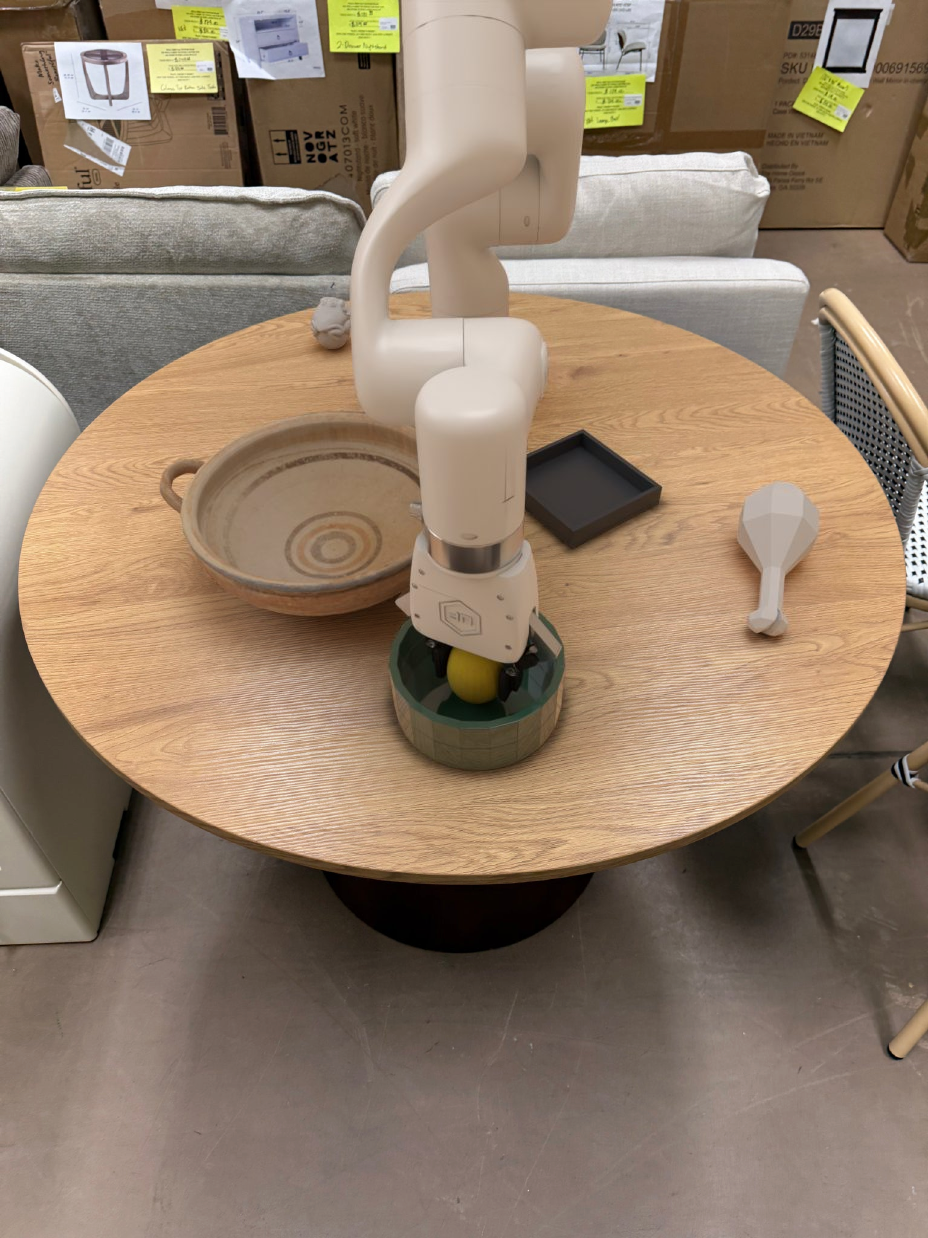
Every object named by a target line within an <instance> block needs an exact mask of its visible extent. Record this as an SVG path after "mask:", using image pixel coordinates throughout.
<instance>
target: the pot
mask: <svg viewBox="0 0 928 1238" xmlns="http://www.w3.org/2000/svg"><path fill="white" fill-rule="evenodd" d="M538 618H539V619H540V621H541V622H542V623H543V624H544V625H545V626H546V628H547V629H548V630H549V631H550V632H551V634H552V635H553V636H554V637H555V638H556V639H557V641H558V642H559V643H560V644H561V646H562V648H561V650H560V652H559V654H558V656H557V658H556V659H555V660H552V661H548V662H544V663H541V662H540V663H537V665H536V666H534V667H531V668H528V669H525V670H523V680H522V683H521V686H520V688H519V690H518V691H517V692H515V691H512V692H511V694H510V695H509V697H508V699H507V701H506V702H503V701H500V699H499V698H498V696H497V697H495V698H494V699H493V700H491V701H489V702H486V703H481V704H473V703H469V702H466V701H464V700H462V699H461V698H459V697H458V696H457V695H456V694H455V693H454V691H453V690H452V688H451V686H450V684H449V681H448V677H447V674H446V676H445V677H444V678H442V679H441V678H438V677H436V673H435V662H433V661H432V650H431V647H429V646H428V645H427V644H426V643H425V638H426V636H425V635H423V634H422V633H420V632H419V631H417V630H416V629H415V627H414V625H413V623H412V621H411V617H410V616H409V618H408V619H406V620H405V622H404V623H402V624H401V626H400V627H399V630H398V631H397V633H396V635H395V637H394V638H393V640H392V641H391V642H392V643H391V644H390V649H389V658H388V672H389V673H388V675H389V679H390V687H391V693H392V700H393V707H394V710H395V713H396V717H397V721H398V724H399V727H400V729H401V730H402V732H403V734H404V735H405V737H406V739H407V740H408V741H409V742H410V744H412V745H413V747H415V748H416V749H417V750H418V751H419V752H420V753H421V754H423V755H424V756H426V757H428V758H429V759H430V760H433V761H435V762H437V763H439V764H441V765H444V766H448V767H450V768H455V769H460V770H464V771H465V770H467V771H489V770H496V769H500V768H504V767H507V766H511V765H514V764H516V763H519V762H520V761H522V760H525V759H526V758H528V757H529V756H531V755H532V754H533V753H535V752H536V751H537V750H539V749H540V748H541V747H542V746H543V745H544V744H545V743H546V741H547V740H548V739H549V738H550V736H551V735H552V733H553V731H554V729H555V728H556V725H557V722H558V721H559V716H560V712H561V709H562V703H563V695H564V685H565V675H566V656H565V655H566V654H565V645H564V643H563V642H562V639H561V637H560V635H559V633H558V631H557V629H556V627H555V626H554V624H553V623H551V622H550V621H549V619H547V618H546V617H545V615H543V614H542V613H541V612H540V611H539V613H538ZM530 644H533V643H532V642H531V641H530V639H529V638H528V640H527V645H530Z"/></svg>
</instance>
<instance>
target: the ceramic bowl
mask: <svg viewBox="0 0 928 1238" xmlns="http://www.w3.org/2000/svg"><path fill="white" fill-rule="evenodd" d="M188 474H192V475H193V477H192V478H191V480H190V482H189V483H188V484H187V487H186V490H185V493H184V495H183V496H182V497H181V496H180V495H179V494H178V493H176V492H175V491H174V489H173V488H172V487H173V483H174V481H175V479H177V478H179V477H181V476H184V475H188ZM159 494H160V496H161V497H162V499H163V500H164V502H165V503H166V504H167V505H168V506H169V507H171V508H172V509H173V510H174V511H176V513H178V514H179V515H180V522H181V528H182V532H183V535H184V537H185V539H186V541H187V542H188V545H189V547H190V549H191V550H192V552H194V556H195V557H196V559H197V561H198V563H199V564H200V566H201V567H202V568H203V569H204V570H205V571H206V572H207V574H208V575H209V576H210V577H211V579H213V581H214V582H216V583H217V584H218V585H219V586H220V587H222V588H223V589H224V590H226V592H228V593H230V594H231V595H233V596H234V597H236V598H238V599H239V600H242V601H244V602H246V603H248V604H251V605H253V606H255V607H257V608H260V609H265V610H268V611H270V612H274V613H279V614H283V615H291V616H299V617H328V616H336V615H344V614H349V613H353V612H357V611H361V610H364V609H368V608H371V607H373V606H376V605H379V604H381V603H383V602H386V601H388V600H390V599H392V598H394V597H395V596H397V595H400V594H401V592H402V591H404V590H405V589H407V588H409V587H410V576H411V566H412V558H413V552H414V547H415V542H416V538H417V536H418V535H419V534H420V533H421V531H423V530H422V523H421V521H420V520H418V519H417V518H416V517H413V516H410V514H409V509H410V505H411V503H412V501H413V500H419V501H422V500H421V488H420V476H419V464H418V452H417V440H416V427H415V425H410V426H396V425H385V424H381V423H378V422H376V421H374V420H372V419H371V418H370V417H369V416H367V415H366V413H365V412H364V411H352V410H336V411H335V410H333V411H332V410H331V411H330V410H329V411H319V412H310V413H304V414H299V415H295V416H289V417H285V418H282V419H278V420H275V421H272V422H269V423H266V424H263V425H260V426H259V427H256V428H254V429H252V430H250V431H247V432H245V433H243V434H242V435H240V436H238V437H236V438H234V439H233V440H231V441H229V442H228V443H226V444H225V445H223V446H221V448H220V449H218V450H217V451H216V452H215V453H213V454H212V455H211V456H210V457H209V458H208V459H207V460H206V461H202V460H198V459H193V458H183V459H180V460H177V461H175V462H174V463H172V464H170V465H168V466H167V467H166V468H164V471H163V472H162V474H161V477H160V480H159Z"/></svg>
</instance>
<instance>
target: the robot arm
mask: <svg viewBox="0 0 928 1238" xmlns="http://www.w3.org/2000/svg"><path fill="white" fill-rule="evenodd" d="M614 1H615V0H401V33H402V34H401V35H402V37H401V39H402V57H403V58H402V59H403V85H404V123H405V125H404V126H405V145H406V146H405V147H406V148H405V159H404V163H403V165H402V168H401V170H400V171H399V173H398V175H397V176H396V177H395V178H394V180H393V181H392V182H391V184H390V185H389V187H387V189H386V190H385V192H384V193H383V194H382V196H381V197H380V198H379V200H378V201H377V203H376V205H375V207H373V209H372V212H371V213H370V214H369V217H368V219H367V221H366V223H365V225H364V227H363V229H362V231H361V233H360V237H359V239H358V242H357V245H356V248H355V252H354V256H353V260H352V265H351V271H350V279H349V308H350V319H351V328H350V343H351V361H352V363H351V364H352V375H353V381H354V382H353V383H354V390H355V394H356V398H357V400H358V403H359V405H360V407H361V409H362V412H365V413H366V415H367V416H369V417H370V418H371V419H372V420H374V421H376V422H378V423H381V424H385V425H396V426H410V425H413V426H415V427H416V440H417V452H418V464H419V476H420V488H421V500H422V501H419V500H413V501H412V503H411V505H410V509H409V514H410V516H413V517H416V518H417V519H418V520H420V521H421V523H422V530H423V531H421V533H420V534H419V535H418V536H417V538H416V542H415V547H414V552H413V558H412V566H411V576H410V587H409V588H407V589H405V590H404V591H402V592H401V593H399V594H398V596H397V598H396V599H395V601H394V603H395V605H396V606H397V607H398V608H399V609H400V610H401V611H402V612H403V613H404V614H405V615H406V616H407V617H409V618H410V617H411V621H412V623H413V625H414V627H415V629H416V630H417V631H419V632H420V633H422V634H423V635H425V636H426V638H425V643H426V644H427V645H428V646H429V647H431V650H432V661H433V662H435V673H436V677H438V678H441V679H442V678H444V677H445V676H446V674H447V662H448V658H449V655H450V652H451V650H452V648H453V647H456V648H459V649H462V650H465V651H468V652H471V653H473V654H476V655H479V656H482V657H485V658H488V659H491V660H494V661H498V662H501V663H502V666H503V667H502V668H501V670H500V672H499V675H498V698H499V699H500V701H503V702H506V701H507V699H508V697H509V695H510V694H511V692H512V691H515V692H517V691H518V690H519V688H520V686H521V683H522V680H523V670H525V669H528V668H531V667H534V666H536V665H537V663H540V662H541V663H544V662H548V661H552V660H555V659H556V658H557V656H558V654H559V652H560V650H561V648H562V646H561V644H560V643H559V642H558V641H557V639H556V638H555V637H554V636H553V635H552V634H551V632H550V631H549V630H548V629H547V628H546V626H545V625H544V624H543V623H542V622H541V621H540V619H539V618H538V613H539V612H540V611H539V610H540V609H539V608H540V607H539V586H538V575H537V569H536V568H537V567H536V563H535V558H534V554H533V550H532V548H531V544H530V542H529V541H528V540H526V539H524V537H525V536H524V535H525V533H524V532H525V511H526V509H525V485H526V459H527V454H528V453H527V452H528V439H529V435H530V430H531V427H532V423H533V420H534V416H535V413H536V411H537V408H538V404H539V401H540V400H542V399H543V398H544V396H545V394H546V393H545V392H546V389H547V384H548V380H549V373H550V360H549V349H548V344H547V342H546V340H544V338H543V335H542V333H541V331H540V330H539V328H538V327H537V326H536V324H534V323H532V322H531V321H529V320H527V319H524V318H520V317H511V316H510V282H509V277H508V274H507V272H506V268H505V267H504V265H503V264H502V262H501V260H500V259H499V258H498V256H497V255H496V254H495V253H494V251H493V250H492V249H491V248H498V247H502V246H504V247H506V246H509V247H510V246H540V245H551V244H554V243H558V242H561V240H563V239H564V238H565V237H566V236H567V235H568V233H569V231H570V230H571V227H572V224H573V220H574V217H575V213H576V212H575V211H576V203H577V196H578V187H579V177H580V168H581V166H580V165H581V160H582V159H581V158H582V148H583V140H584V138H583V137H584V131H585V120H586V119H585V118H586V108H587V107H586V106H587V105H586V104H587V82H586V81H587V80H586V72H585V67H584V62H583V60H582V57H581V55H580V53H579V52H578V50H577V49H576V48H583V47H586V46H590V45H592V44H595V43H596V41H598V40H599V39H600V37H601V36H602V35H603V34H604V32H605V30H606V27H607V25H608V23H609V21H610V19H611V18H610V17H611V13H612V9H613V6H614ZM421 233H422V236H423V242H424V248H425V253H426V262H427V273H428V283H429V285H428V286H429V299H430V313H431V314H430V315H431V317H430V318H429V317H428V318H400V319H399V318H398V319H394V318H393V319H392V318H391V317H390V312H389V311H390V310H389V309H390V308H389V304H390V302H389V300H390V289H391V287H390V286H391V280H392V276H393V273H394V270H395V267H396V265H397V263H398V261H399V259H400V257H401V256H402V254H403V252H404V251H405V250H406V248H407V247H408V246H409V245H410V244H411V243H412V242H413V241H414V239H416V238H417V237H418V236H419V235H420V234H421ZM528 638H529V639H530V641H531V642H532V643H533V644H530V645H527V640H528Z"/></svg>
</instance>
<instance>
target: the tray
mask: <svg viewBox="0 0 928 1238" xmlns="http://www.w3.org/2000/svg"><path fill="white" fill-rule="evenodd" d="M662 491H663V486H662V485H661V484H659V483H658V482H656V481H655V480H654V479H653V478H651V477H649V475H647V474H646V473H644V472H643V471H642V470H640V469H639V468H637V467H636V466H635V465H633V464H632V463H630V461H628V460H627V459H625V458H623V456H621V455H620V454H618V453H617V452H615V451H614V450H613V449H612V448H610V447H609V446H607V445H606V444H605V443H603V442H602V441H600V440H599V439H598V438H596V437H595V436H594V435H592V434H591V433H589V432H588V431H587V430H585V429H584V428H581V429H579V430H576V431H575V432H573V433H571V434H568V435H566V436H563V437H562V438H559V439H557V440H555V441H553V442H551V443H548V444H546V445H544V446H542V447H540V448H537V449H535V450H533V451H531V452H528V453H527V459H526V485H525V511H528V513H530V514H531V515H532V516H533V517H534V518H535V519H536V520H538V521H539V522H540V523H541V524H542V525H543V526H545V527H546V528H547V529H548V530H549V531H550V532H552V534H554V535H555V536H556V537H557V538H558V539H559V540H561V541H562V542H563V543H564V544H565V545H567V546H568V547H569V549H571V550H573V549H575V548H577V547H578V546H580V545H582V544H585V543H587V542H589V541H590V540H592V539H594V538H596V537H598V536H600V535H602V534H604V533H605V532H608V531H609V530H612V529H613V528H615V527H617V526H619V525H621V524H624V523H625V522H627V521H630V520H631V519H633V518H635V517H637V516H639V515H641V514H642V513H644V512H647V511H648V510H651V509H652V508H654V507H656V506H658V505H659V504H660V501H661V497H662Z"/></svg>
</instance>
